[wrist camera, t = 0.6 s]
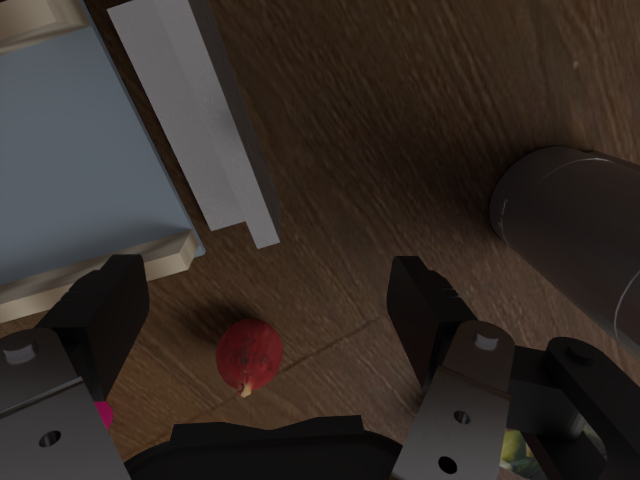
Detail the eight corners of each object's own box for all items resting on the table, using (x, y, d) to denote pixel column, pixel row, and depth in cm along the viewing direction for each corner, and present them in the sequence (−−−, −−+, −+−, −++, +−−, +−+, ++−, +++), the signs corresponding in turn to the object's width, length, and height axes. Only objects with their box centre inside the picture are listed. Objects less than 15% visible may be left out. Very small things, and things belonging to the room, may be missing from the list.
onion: (222, 300, 35) (205, 365, 28) (284, 301, 35) (283, 365, 28) (224, 347, 37) (208, 418, 30) (282, 348, 38) (280, 417, 31)
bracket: (114, 11, 24) (56, -2, 18) (201, -19, 24) (172, -42, 18) (213, 224, 31) (196, 266, 25) (281, 204, 31) (280, 242, 25)
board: (73, -19, 23) (68, -21, 23) (205, 251, 32) (204, 254, 32) (-209, 77, 24) (-221, 78, 24) (-5, 311, 33) (-10, 315, 33)
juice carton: (417, 398, 43) (437, 448, 38) (478, 341, 40) (509, 387, 34) (528, 449, 50) (558, 499, 44) (588, 404, 46) (628, 451, 41)
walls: (78, -2, 23) (39, -11, 19) (199, 244, 31) (188, 269, 28) (-206, 94, 24) (-291, 102, 21) (-18, 307, 32) (-55, 338, 29)
